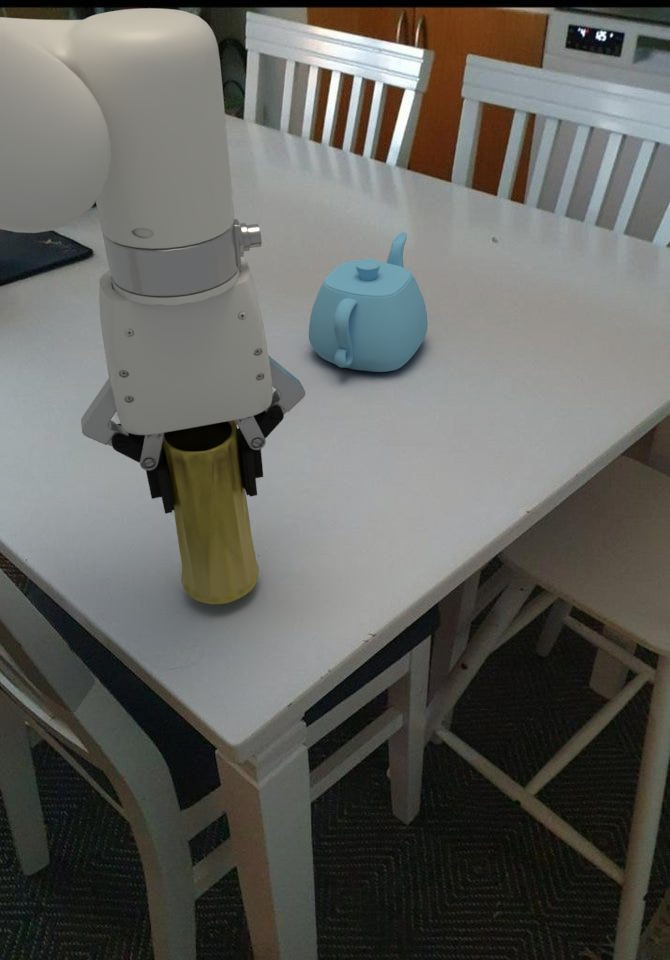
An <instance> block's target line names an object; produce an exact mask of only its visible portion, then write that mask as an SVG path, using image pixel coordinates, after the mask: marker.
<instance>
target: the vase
mask: <svg viewBox="0 0 670 960" xmlns="http://www.w3.org/2000/svg"><path fill="white" fill-rule="evenodd" d="M237 429H238V425H237V424H235V422H234V421H233V420H232V421H226V422H221V423H215V424H210V425H204V426H199V427H193V428H187V429H182V430H176V431H170V432H165V433H164V438H163V443H162V449H163V454H164V457H165V461H166V466H167V470H168V475H169V481H170V486H171V492H172V497H173V503H174V508H175V510H173V514H174V521H175V528H176V535H177V542H178V548H179V555H180V562H181V574H180V577H181V578H180V581H181V586H182V589H183V590H184V592H185V593H186V594H187V595H188V596H190V597H191V598H192V599H193V600H195V601H197V602H200V603H204V604H208V605H223V604H229V603H232V602H235V601H238V600H239V599H242V598H243V597H245V596H246V595H247V594H249V593H250V592H251V591H252V590H253V589H254V588H255V586H256V584H257V582H258V580H259V574H260V567H259V563H258V562H257V557H256V551H255V546H254V540H253V536H252V529H251V521H250V513H249V505H248V499H247V494H246V491H245V488H244V483H243V475H242V466H241V457H240V449H239V440H238V430H237Z"/></svg>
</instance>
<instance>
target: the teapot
mask: <svg viewBox="0 0 670 960" xmlns="http://www.w3.org/2000/svg"><path fill="white" fill-rule="evenodd" d="M407 239H408V234H407V233H406V232H401V233H398V234H397V235H396V237H395V238H394V239H393V241H392V244H391V247H390V250H389V253H388V256H387V260H386V262H383V261H379V260H377V259H374V258H362V259H355V260H354V259H353V260H348V261H344V262H342V263H341V264H339V265H337V266H336V267H335V268H334V269H333V270H332V271H331V272H330V273H329V274H328V275H327V276H326V277H325V278H324V279H323V281H322V284H321V286H320V288H319V290H318V292H317V295H316V298H315V299H314V303H313V306H312V309H311V312H310V317H309V318H310V319H309V325H308V340H309V344H310V345H311V347H312V349H313V350H314V351H315V353H316V354H317V355H318V356H319V357H320V358H322V359H323V360H325V361H327V362H329V363H331V364H334V365H336V366H337V367H338V368H340V369H342V368H346V369H350V370H354V371H355V370H356V371H364V372H375V373H376V372H377V373H382V372H383V373H386V372H392V371H396V370H399V369H400V368H402V367H403V366H404V365H406V364H407V363H408V362H409V361H410V360H411V359H412V357H413V356H414V355H415V354H416V353H417V351H418V350H419V348H420V347H421V345H422V343H423V342H424V340H425V338H426V335H427V333H428V324H429V323H428V313H427V307H426V303H425V299H424V296H423V293H422V291H421V289H420V287H419V284H418V282H417V280H416V278H415V276H414V274H413V272H411V271H410V270H409V269H407V268H406V267H405V266H404V249H405V245H406V241H407Z"/></svg>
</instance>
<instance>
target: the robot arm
mask: <svg viewBox="0 0 670 960" xmlns="http://www.w3.org/2000/svg"><path fill="white" fill-rule="evenodd" d="M219 51H220V50H219V45H218V41H217V38H216V36H215V33H214V31H213V29H212V28H211V27H210V25H209V24H208V22H206V21H205V20H204V19H203V18H201V17H200V16H199V15H196V14H195V13H191V12H188V11H185V10H180V9H171V8H158V7H157V8H156V7H155V8H153V7H152V8H151V7H148V8H144V7H143V8H127V9H119V10H113V11H106V12H101V13H96V14H93V15H91V16H88V17H86V18H84V19H38V18H37V19H36V18H35V19H34V18H19V17H18V18H16V17H3V16H0V230H2V231H8V232H12V233H21V234H22V233H23V234H25V233H26V234H37V233H44V232H51V231H55V230H57V229H60V228H63V227H66V226H69V225H70V224H72V223H73V222H75V221H77V220H78V219H80V218H81V217H83V216H84V215H85V214H86V213H87V212H88V211H89V210H90V209H91V208H93V206H94V204H95V205H96V209H97V215H98V219H99V224H100V229H101V233H102V238H103V242H104V248H105V253H106V257H107V264H108V268H109V270H107V271H105V273H103V274H102V275H101V277H100V279H99V287H98V292H99V293H98V295H99V296H98V300H99V301H98V302H99V303H98V304H99V318H100V329H101V335H102V342H103V349H104V355H105V361H106V362H105V363H106V367H107V375H108V379H107V380H106V381H105V383H104V384H103V386H102V388H101V389H100V390H99V392H98V393H97V395H96V396H95V397H94V399H93V401H92V402H91V403H90V405H89V406H88V409H87V410H86V411H85V412H84V414H83V415H82V416H81V419H80V424H81V433H82V435H83V436H85V437H86V438H89V439H91V440H93V441H96V442H98V443H100V444H102V445H105V446H110V447H112V449H113V450H114V451H116V452H117V453H119V454H122V455H123V456H125V457H127V458H128V459H131V460H133V461H134V462H137V463H138V464H139V465H140V468H141V469H142V470H144V471H145V472H146V478H147V482H148V487H149V492H150V497H151V498H150V499H151V500H155V499H159V498H161V501H162V506H163V510H164V515H165V514H171V513H173V511H174V510H175V508H174V503H173V497H172V492H171V486H170V481H169V475H168V470H167V466H166V461H165V457H164V454H163V449H162V443H163V438H164V433H165V432H170V431H176V430H182V429H187V428H193V427H199V426H204V425H210V424H215V423H221V422H226V421H232V420H235V421H236V422H237V424H236V425H237V427H238V428H237V430H238V440H239V449H240V457H241V466H242V475H243V483H244V488H245V494H246V496H249V497H256V496H258V487H257V479H261V478H263V477H264V469H263V467H264V466H263V457H262V449H263V448H264V447H265V446H266V444H267V441H266V439H267V438H268V437H269V435H270V434H272V432H273V431H274V430H275V429H276V428H277V427H278V425H280V423H282V422H283V419H284V418H285V414H286V413H289V412H290V411H291V410H292V409H294V408H295V407H296V405H298V404H299V403H300V402H301V401H302V400H303V399H304V398H305V396H306V390H305V389H304V387H303V384H302V382H301V381H300V379H298V378H297V377H295V375H294V374H292V373H291V372H290V371H288V370H287V369H286V368H285V367H284V366H282V365H281V364H280V363H279V362H278V361H276V360H275V359H274V358H272V357H271V356H270V355H269V350H268V343H267V337H266V332H265V331H266V330H265V327H264V320H263V316H262V312H261V311H262V310H261V306H260V301H259V297H258V293H257V289H256V285H255V282H254V278H253V274H252V272H251V268H250V266H249V263H248V261H247V260H246V259H245V258H244V255H245V253H244V252H249V251H250V249H253V248H261V247H262V232H261V229H260V226H259V225H260V224H258V223H253V224H247V223H245V222H243V223H240V221H239V220H238V218H235V209H234V198H233V187H232V186H233V185H232V177H231V176H232V175H231V165H230V164H231V163H230V154H229V143H228V132H227V123H226V122H227V121H226V111H225V101H224V90H223V88H224V87H223V79H222V70H221V69H222V68H221V59H220V52H219ZM273 389H275V391H273ZM115 414H117V417H118V420H119V423H116V422H115V421H114V420H112V418H113V417H114V416H115Z"/></svg>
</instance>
